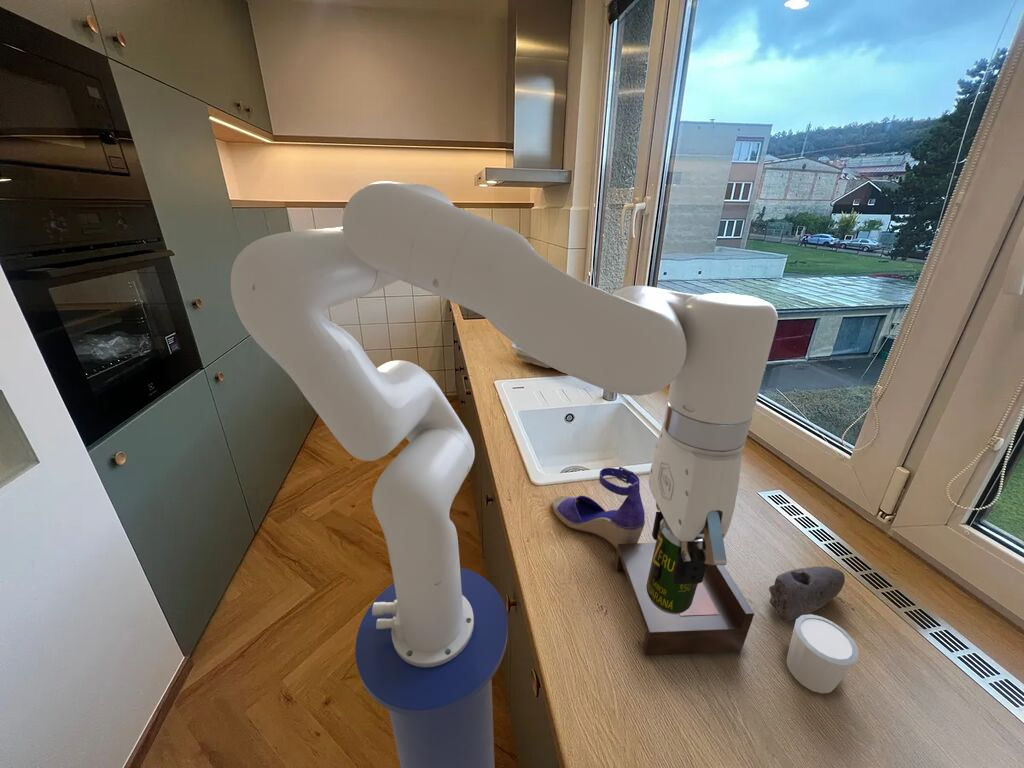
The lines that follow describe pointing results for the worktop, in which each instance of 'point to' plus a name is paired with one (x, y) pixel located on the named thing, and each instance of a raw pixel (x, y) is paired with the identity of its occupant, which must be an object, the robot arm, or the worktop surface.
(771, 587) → the perforated stone tool
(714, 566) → the shelf
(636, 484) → the sandal
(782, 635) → the worktop surface
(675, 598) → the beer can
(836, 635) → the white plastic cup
